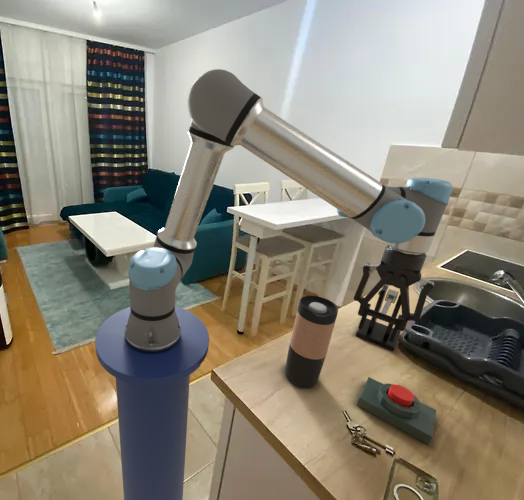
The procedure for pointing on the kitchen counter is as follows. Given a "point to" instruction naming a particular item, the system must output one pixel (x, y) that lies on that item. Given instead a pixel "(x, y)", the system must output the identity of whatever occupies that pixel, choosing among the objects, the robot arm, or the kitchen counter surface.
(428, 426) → the button box
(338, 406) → the kitchen counter surface
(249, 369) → the kitchen counter surface
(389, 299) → the lever
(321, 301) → the travel mug
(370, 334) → the bracket
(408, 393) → the button
